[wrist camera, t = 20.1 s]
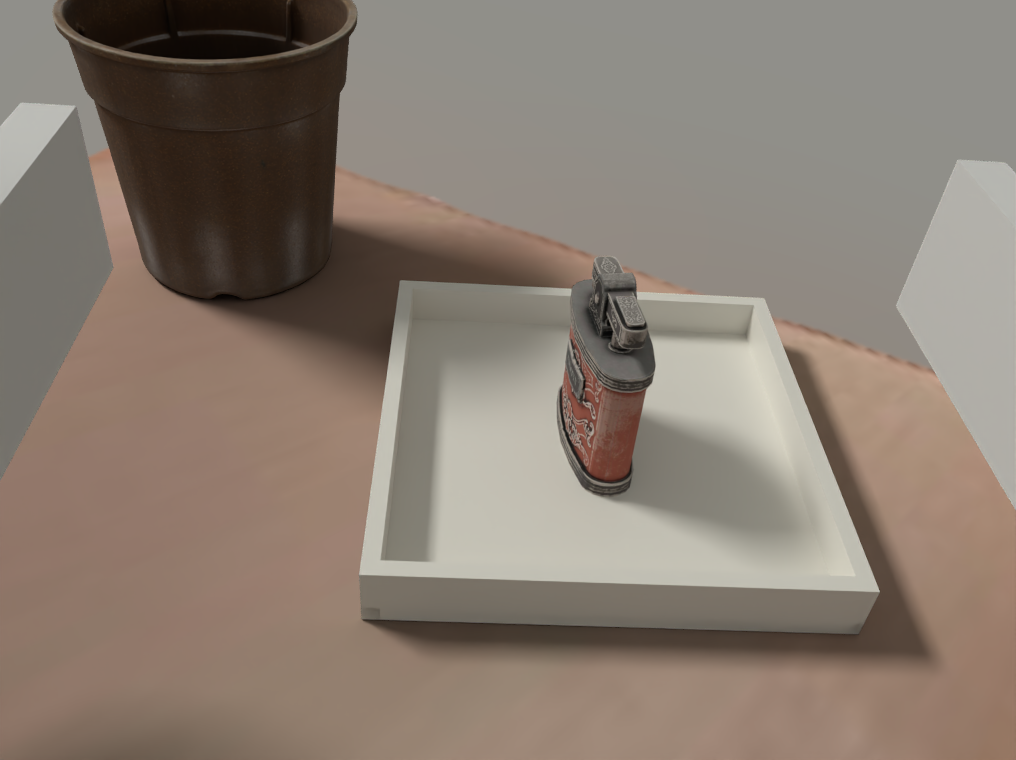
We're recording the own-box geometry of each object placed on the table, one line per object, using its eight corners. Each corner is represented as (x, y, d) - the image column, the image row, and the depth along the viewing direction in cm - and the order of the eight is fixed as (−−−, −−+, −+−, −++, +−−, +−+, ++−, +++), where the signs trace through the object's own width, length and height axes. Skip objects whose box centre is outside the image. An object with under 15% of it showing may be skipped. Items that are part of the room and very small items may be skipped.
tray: (361, 619, 40) (359, 574, 39) (400, 321, 57) (399, 280, 56) (858, 634, 42) (880, 592, 40) (752, 337, 59) (764, 298, 57)
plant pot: (412, 239, 65) (413, 1, 55) (253, 357, 54) (217, 85, 44) (234, 172, 71) (204, -55, 61) (56, 266, 60) (-16, 7, 49)
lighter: (546, 393, 52) (565, 236, 46) (605, 390, 52) (632, 234, 46) (576, 499, 46) (603, 335, 39) (643, 494, 46) (680, 332, 40)
